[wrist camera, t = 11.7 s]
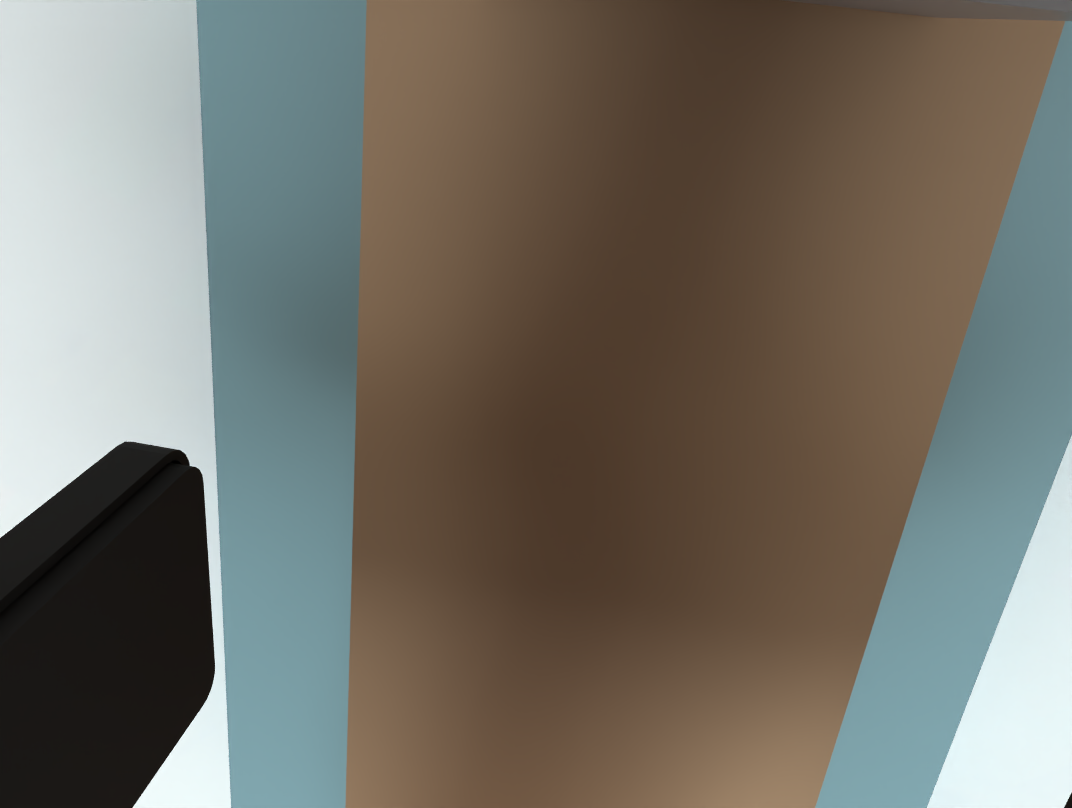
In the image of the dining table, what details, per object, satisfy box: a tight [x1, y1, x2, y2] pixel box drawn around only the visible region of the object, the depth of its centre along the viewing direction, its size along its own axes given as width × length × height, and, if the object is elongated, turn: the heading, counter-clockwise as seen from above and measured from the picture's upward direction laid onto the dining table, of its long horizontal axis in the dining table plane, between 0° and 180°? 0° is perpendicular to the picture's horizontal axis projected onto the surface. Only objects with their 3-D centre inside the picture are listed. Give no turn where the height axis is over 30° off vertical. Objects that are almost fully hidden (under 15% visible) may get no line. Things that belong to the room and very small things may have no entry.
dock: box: [196, 0, 1072, 808], centre depth 17 cm, size 14×28×4 cm, turn 174°
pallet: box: [345, 0, 1065, 808], centre depth 13 cm, size 6×22×5 cm, turn 174°
